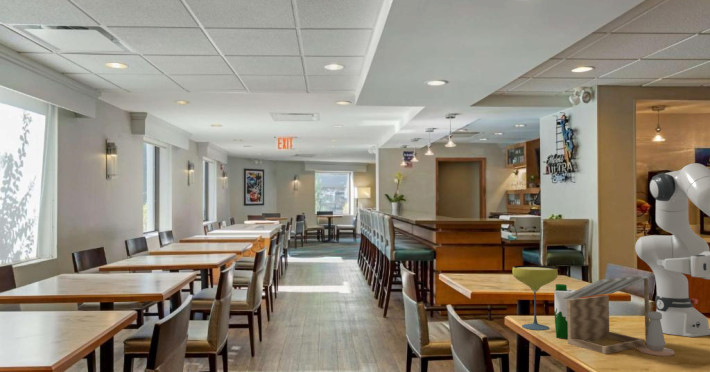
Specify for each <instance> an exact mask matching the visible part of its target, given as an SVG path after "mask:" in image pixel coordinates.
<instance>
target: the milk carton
mask: <svg viewBox="0 0 710 372" xmlns="http://www.w3.org/2000/svg"><path fill="white" fill-rule="evenodd" d="M576 290H577V289H576ZM576 290H575V289H571V288H570V289H569V288H567V284H561V283H558V284H557V283H555V290H554V327H555V328H554V329H555V338H556V339H563V340H568V315H567V300H570V299H579V298H581V297H577V298H568V299H563V297H564V296H566V295H568V294H570V293H572V292H574V291H576Z"/></svg>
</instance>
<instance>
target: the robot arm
mask: <svg viewBox="0 0 710 372" xmlns="http://www.w3.org/2000/svg"><path fill="white" fill-rule="evenodd" d="M649 192H650V194H651V196H652V198H653V199H655V223H656V225H657V226H658V227H659V228H660V229H662V230H663V231H665V232H668V233H670V234H672V235H661V234H659V235H658V234H653V235H643V236H640V237H639V238H638V239H637V241H636V242H635V245H634V250H635V253H636V255H637V257H638V258H639V259H640V260H642V261H643V262H645V263H646V264H647V266H649V268H650V269H651V271H652V272H653V275H654V277H655V278H654V280H655V285H656V295H655V305H656V309H655V310H656V311H655V312H660V313H661V314H662V319H660V322H661V326H662V331H663V334H667V335H674V336H683V337H690V338H694V337H705V336H710V324H709V320H708V318H707V317H706V316H705V315H704V314H703V313H701V312H699V310H697V309H696V308H695V307H694V305H693V304H695V305H697V304H698V303H699V299H697V298H693V297H692V298H690V297H689V296H690V295H689V280H688V278H687V276H686V275H690V276H691V278H702V279H704V280H708V281H709V280H710V246H709V244H708V242H707V241H706V240H705V239H704V238H703V237H701V236H699V235H698V234H697V233H696V232H694V230H693V229H692V228H691V225H690V220H689V218H690V217H689V201H690V202H691V203H692V204H694V206H696V207H697V208H698V209H699V210H701V211H702V212H703V213H704V214H706V215H707V216H708V217H709V218H710V168H709V167H707V166H705V165H704V164H701V163H699V162H698V163H697V162H695V163H688V164H687V165H685V166H684V167H682V168H681V169H679V170H674V171H669V172H665V173H658V174H656V175H654V176H652V178H651V179H650V181H649Z"/></svg>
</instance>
